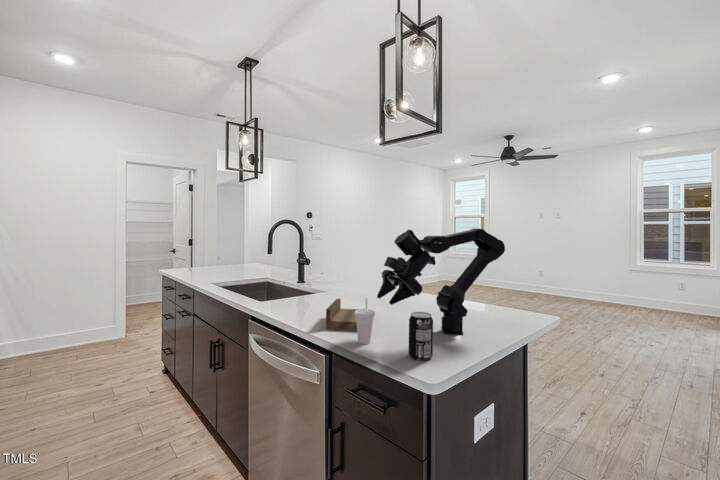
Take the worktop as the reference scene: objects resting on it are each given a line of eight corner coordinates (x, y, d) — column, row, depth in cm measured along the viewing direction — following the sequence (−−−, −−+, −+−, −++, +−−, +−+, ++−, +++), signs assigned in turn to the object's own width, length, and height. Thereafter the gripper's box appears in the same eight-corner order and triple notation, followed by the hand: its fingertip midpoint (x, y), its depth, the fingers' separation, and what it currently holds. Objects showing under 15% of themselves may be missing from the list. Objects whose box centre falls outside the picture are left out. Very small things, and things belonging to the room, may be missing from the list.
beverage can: (416, 350, 98) (416, 310, 98) (436, 356, 94) (437, 314, 94) (404, 357, 93) (404, 314, 93) (425, 363, 89) (426, 318, 88)
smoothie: (372, 346, 101) (373, 300, 100) (352, 344, 102) (352, 299, 102) (375, 339, 107) (376, 296, 107) (356, 338, 109) (356, 295, 108)
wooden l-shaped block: (371, 317, 134) (371, 300, 133) (365, 331, 116) (365, 311, 116) (336, 315, 136) (336, 298, 135) (326, 329, 118) (326, 309, 117)
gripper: (387, 246, 117) (357, 279, 113) (414, 250, 99) (379, 288, 96) (406, 268, 120) (377, 300, 116) (436, 275, 102) (403, 314, 99)
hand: (383, 300), depth 107 cm, fingers open, 9 cm apart
